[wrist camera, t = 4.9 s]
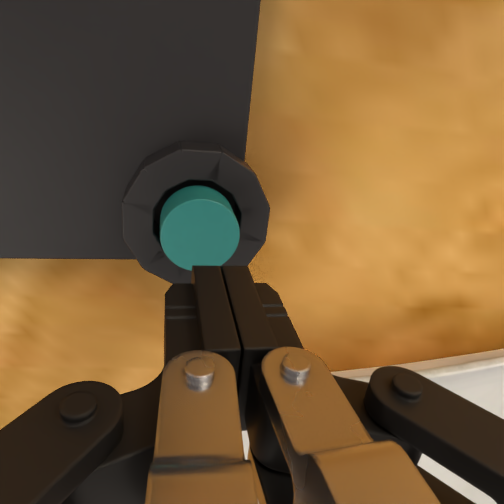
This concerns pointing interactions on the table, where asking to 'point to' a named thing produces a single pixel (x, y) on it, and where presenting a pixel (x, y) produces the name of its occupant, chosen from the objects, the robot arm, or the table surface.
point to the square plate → (461, 383)
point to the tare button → (198, 227)
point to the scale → (123, 124)
